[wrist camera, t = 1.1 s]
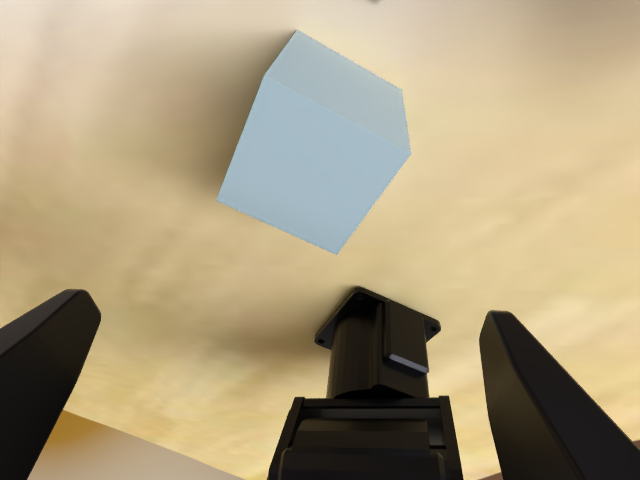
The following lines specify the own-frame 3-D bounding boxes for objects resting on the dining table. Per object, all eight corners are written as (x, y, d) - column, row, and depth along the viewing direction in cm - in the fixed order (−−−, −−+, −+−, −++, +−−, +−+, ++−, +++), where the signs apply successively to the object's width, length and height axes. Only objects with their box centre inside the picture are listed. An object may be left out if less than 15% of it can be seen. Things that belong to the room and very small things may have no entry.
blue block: (346, 176, 20) (336, 255, 15) (255, 131, 19) (216, 200, 14) (402, 89, 17) (411, 153, 12) (297, 29, 16) (264, 74, 11)
